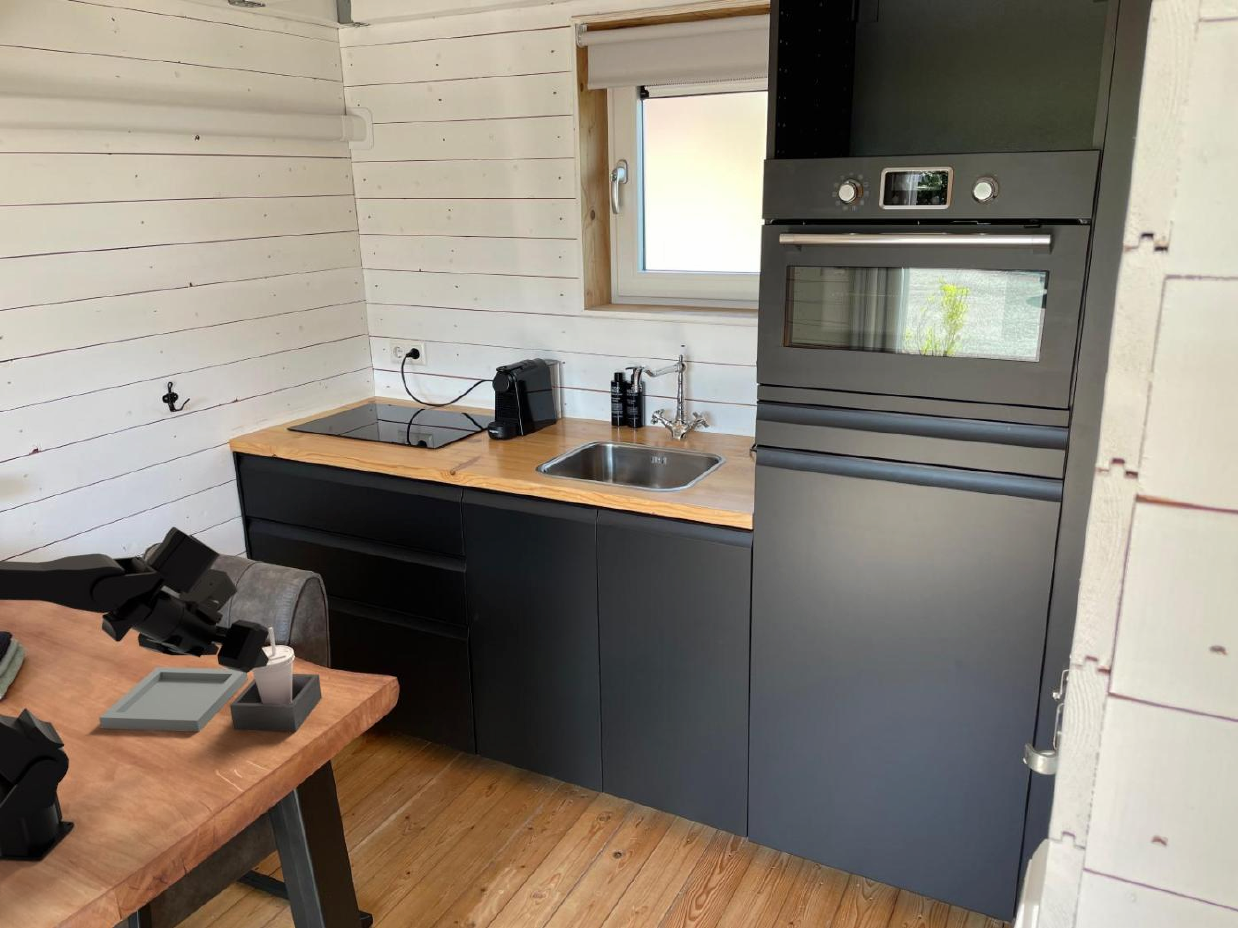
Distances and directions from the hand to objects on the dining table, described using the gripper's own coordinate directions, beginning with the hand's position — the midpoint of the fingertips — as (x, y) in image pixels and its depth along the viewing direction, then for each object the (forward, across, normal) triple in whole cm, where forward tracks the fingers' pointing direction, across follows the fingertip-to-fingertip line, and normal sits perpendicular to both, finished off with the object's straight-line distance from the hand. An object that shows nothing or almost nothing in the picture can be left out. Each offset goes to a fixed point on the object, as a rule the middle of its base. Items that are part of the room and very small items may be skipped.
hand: (241, 656), depth 131 cm
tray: (+10, +17, +7) cm, 21 cm away
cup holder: (+12, 0, +5) cm, 13 cm away
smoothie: (+12, 0, +5) cm, 13 cm away
